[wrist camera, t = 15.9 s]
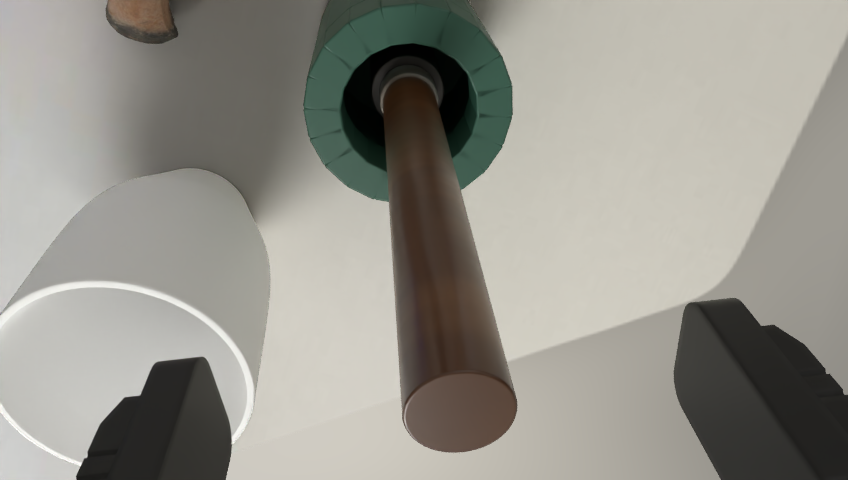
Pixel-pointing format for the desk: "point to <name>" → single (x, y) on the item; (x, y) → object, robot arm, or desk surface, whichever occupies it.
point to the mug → (135, 307)
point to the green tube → (351, 89)
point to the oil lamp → (142, 20)
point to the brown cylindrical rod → (436, 268)
